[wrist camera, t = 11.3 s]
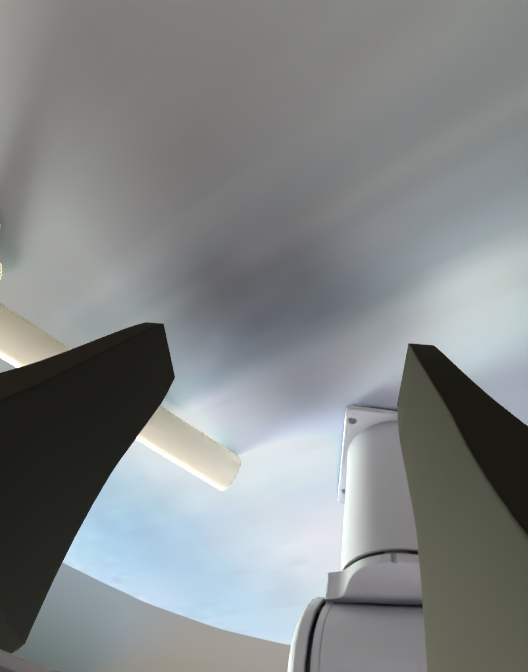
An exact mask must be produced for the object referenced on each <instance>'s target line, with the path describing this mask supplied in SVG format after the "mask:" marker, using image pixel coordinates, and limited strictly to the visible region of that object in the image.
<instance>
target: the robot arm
mask: <svg viewBox="0 0 528 672" xmlns="http://www.w3.org/2000/svg"><path fill="white" fill-rule="evenodd" d="M174 378H175V376H174V371H173V366H172V362H171V357H170V352H169V347H168V343H167V338H166V333H165V329H164V324H159V323H147V322H146V323H142V324H138V325H135V326H132V327H129V328H126V329H123V330H120V331H118V332H115V333H113V334H110V335H107V336H105V337H102V338H100V339H97V340H95V341H92V342H90V343H87V344H84V345H82V346H79V347H77V348H74V349H71V350H68V351H66V352H63V353H60V354H57V355H55V356H52V357H49V358H46V359H44V360H41V361H38V362H35V363H32V364H29V365H26V366H22V367H19V368H16V369H12V370H9V371H5V372H2V373H0V672H59V671H56V670H54V669H51V668H48V667H46V666H43V665H40V664H38V663H35V662H32V661H30V660H27V659H25V658H22V657H19V656H17V655H14V654H11V653H13V652H14V651H16V650H18V649H19V648H20V647H21V646H23V645H24V644H25V642H26V640H27V638H28V635H29V633H30V631H31V628H32V626H33V624H34V621H35V619H36V617H37V615H38V613H39V610H40V608H41V606H42V604H43V602H44V600H45V597H46V595H47V593H48V591H49V589H50V586H51V584H52V582H53V580H54V578H55V576H56V574H57V572H58V570H59V568H60V566H61V563H62V562H63V560H64V558H65V556H66V554H67V552H68V550H69V548H70V546H71V544H72V542H73V540H74V538H75V536H76V534H77V532H78V530H79V529H80V527H81V525H82V523H83V521H84V519H85V518H86V516H87V514H88V512H89V510H90V508H91V506H92V505H93V503H94V501H95V500H96V498H97V496H98V494H99V493H100V491H101V489H102V488H103V486H104V484H105V483H106V481H107V479H108V477H109V476H110V474H111V473H112V471H113V470H114V468H115V467H116V465H117V464H118V462H119V461H120V459H121V458H122V457H123V455H124V454H125V452H126V451H127V450H128V448H129V447H130V446H131V444H132V443H133V442H134V440H135V439H136V437H137V436H138V435H139V433H140V432H141V431H142V429H143V428H144V427H145V425H146V424H147V423H148V421H149V420H150V418H151V417H152V416H153V414H154V413H155V411H156V410H157V409H158V407H159V406H160V404H161V403H162V401H163V399H164V397H165V396H166V394H167V392H168V390H169V388H170V386H171V384H172V382H173V380H174ZM397 407H398V411H391V410H383V409H375V408H368V407H360V406H349V407H348V408H346V413H345V424H344V435H343V445H342V456H341V467H340V478H339V489H338V500H339V501H340V502H341V503H343V504H345V507H344V524H343V541H342V557H341V571H339V572H332V573H328V576H327V587H326V597H317V598H315V599H313V600H312V601H311V602H310V603H309V604H308V605H307V607H306V609H305V611H304V612H303V615H302V617H301V619H300V621H299V623H298V625H297V627H296V630H295V633H294V637H293V640H292V644H291V650H290V656H289V663H288V672H528V426H527V425H525V424H524V423H523V422H521V421H520V420H519V419H517V418H516V417H515V416H514V415H512V414H511V413H510V412H509V411H507V410H506V409H505V408H503V407H502V406H501V405H500V404H498V403H497V402H496V401H495V400H494V399H492V398H491V397H490V396H489V395H488V394H486V393H485V392H484V391H483V390H482V389H481V388H480V387H478V386H477V385H476V384H475V383H474V382H473V381H472V380H471V379H470V378H468V377H467V376H466V375H465V374H464V373H463V372H462V371H461V370H460V369H459V368H458V367H457V366H456V365H454V364H453V363H452V362H451V361H450V360H449V359H448V358H447V357H446V356H445V355H444V354H443V353H442V352H441V351H440V350H438V349H437V348H436V347H435V346H433V345H421V344H408V350H407V355H406V360H405V366H404V371H403V376H402V382H401V387H400V393H399V398H398V403H397ZM350 418H355V420H351V419H350Z"/></svg>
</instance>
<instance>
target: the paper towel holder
mask: <svg viewBox="0 0 528 672" xmlns="http://www.w3.org/2000/svg"><path fill="white" fill-rule="evenodd" d="M0 227H1V224H0ZM1 276H2V265H1V263H0V279H1ZM68 350H71V348H70V347H68V346H67V345H65V344H64V343H62V342H61V341H59V340H57V339H56V338H54V337H53V336H51V335H50V334H48V333H47V332H45V331H43V330H42V329H40V328H39V327H37V326H36V325H34V324H33V323H31V322H29V321H28V320H26V319H25V318H23V317H22V316H20V315H19V314H17V313H15V312H14V311H12V310H11V309H9V308H8V307H6V306H5V305H3V304H1V303H0V358H2V359H4V360H5V361H7V362H9V363H10V364H12V365H14V366H15V367H17V368H19V367H22V366H26V365H29V364H32V363H35V362H38V361H41V360H44V359H46V358H49V357H52V356H55V355H57V354H60V353H63V352H66V351H68ZM136 440H138V441H140V442H141V443H143V444H145V445H146V446H148V447H149V448H151V449H153V450H154V451H156V452H158V453H159V454H161V455H163V456H164V457H166V458H168V459H169V460H171V461H173V462H174V463H176V464H178V465H179V466H181V467H183V468H184V469H186V470H188V471H189V472H191V473H193V474H194V475H196V476H198V477H199V478H201V479H203V480H204V481H206V482H208V483H209V484H211V485H213V486H214V487H216V488H217V489H219V490H221V491H223V490H225V489H227V488H228V487H229V486H230V485H231V484H232V482H233V481H234V479H235V478H236V476H237V474H238V472H239V469H240V466H241V458H240V457H239V456H238V455H236V454H235V453H233V452H232V451H230V450H228V449H227V448H225V447H224V446H222V445H221V444H219V443H218V442H216V441H214V440H213V439H211V438H210V437H208V436H207V435H205V434H204V433H202V432H200V431H199V430H197V429H196V428H194V427H193V426H191V425H190V424H188V423H186V422H185V421H183V420H182V419H180V418H179V417H177V416H176V415H174V414H172V413H171V412H169V411H168V410H166V409H165V408H163V407H162V406H159V407H158V409H157V410H156V411H155V413H154V414H153V416H152V417H151V418H150V420H149V421H148V423H147V424H146V425H145V427H144V428H143V429H142V431H141V432H140V433H139V435H138V436H137V437H136Z"/></svg>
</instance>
